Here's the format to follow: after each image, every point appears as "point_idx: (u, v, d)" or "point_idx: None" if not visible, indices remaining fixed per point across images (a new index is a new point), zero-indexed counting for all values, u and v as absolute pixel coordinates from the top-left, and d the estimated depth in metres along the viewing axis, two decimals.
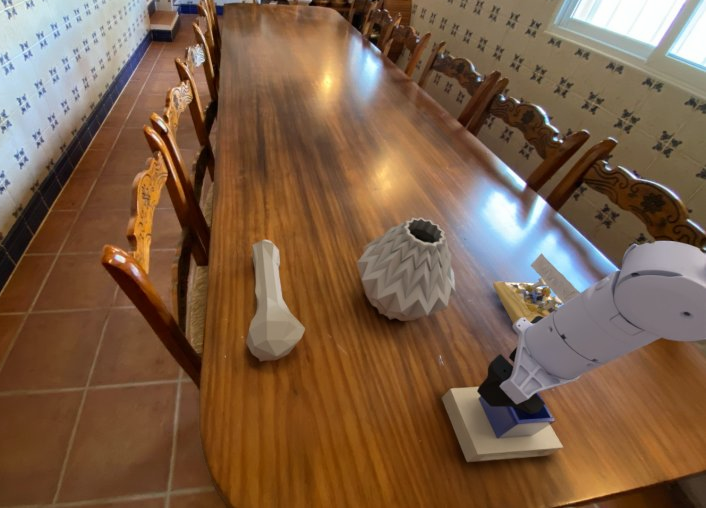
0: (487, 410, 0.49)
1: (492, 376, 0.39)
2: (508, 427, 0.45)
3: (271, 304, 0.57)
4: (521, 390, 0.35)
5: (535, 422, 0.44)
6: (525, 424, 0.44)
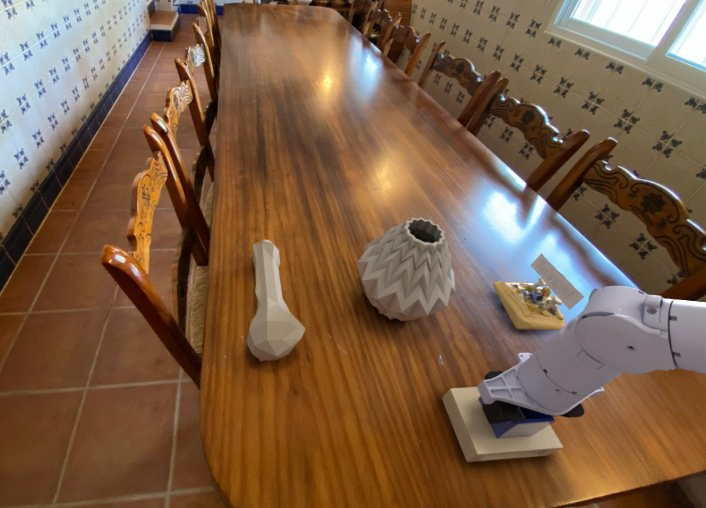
0: None
1: None
2: (508, 427, 0.45)
3: (271, 304, 0.57)
4: (489, 390, 0.42)
5: (535, 422, 0.44)
6: (525, 424, 0.44)
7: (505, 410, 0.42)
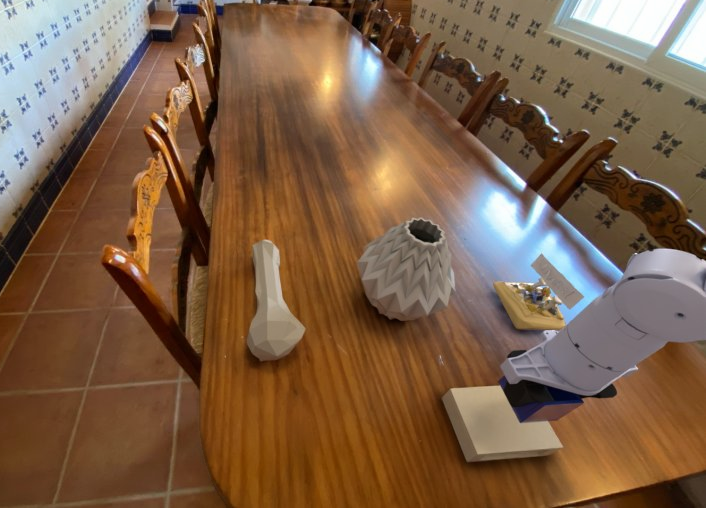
0: None
1: None
2: (533, 410, 0.42)
3: (271, 304, 0.57)
4: (514, 368, 0.38)
5: (563, 404, 0.40)
6: (552, 406, 0.41)
7: (531, 390, 0.39)
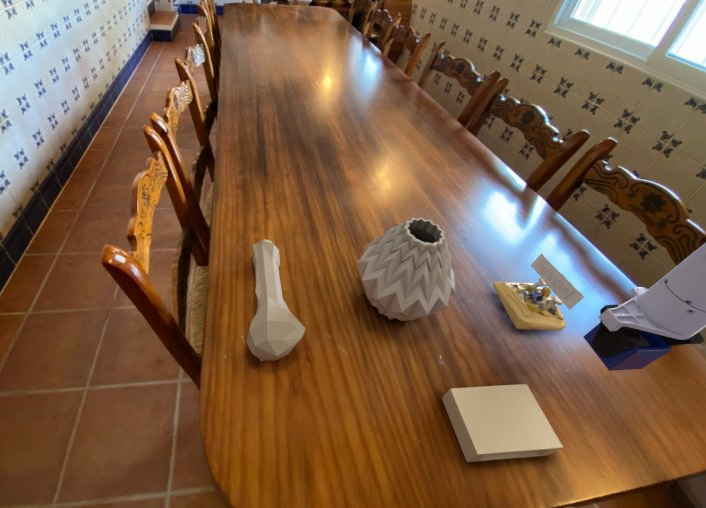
0: None
1: None
2: (625, 356, 0.47)
3: (271, 304, 0.57)
4: (615, 316, 0.44)
5: (653, 350, 0.46)
6: (643, 352, 0.46)
7: (629, 337, 0.44)
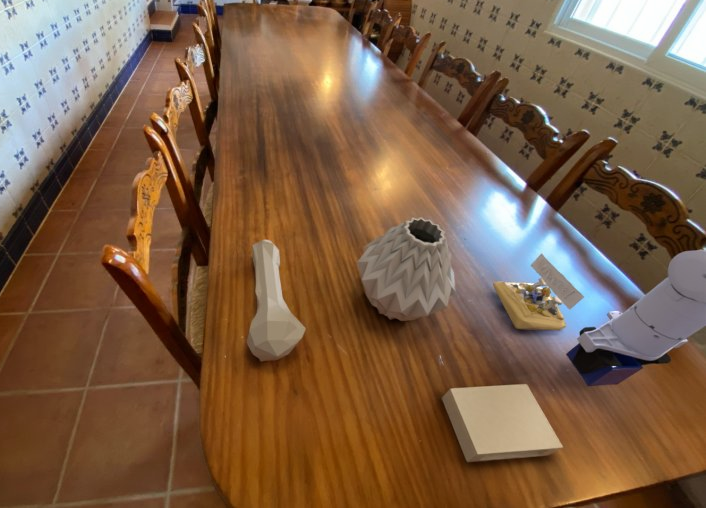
0: None
1: None
2: (601, 374, 0.52)
3: (271, 304, 0.57)
4: (591, 339, 0.49)
5: (626, 369, 0.51)
6: (617, 370, 0.51)
7: (604, 357, 0.50)
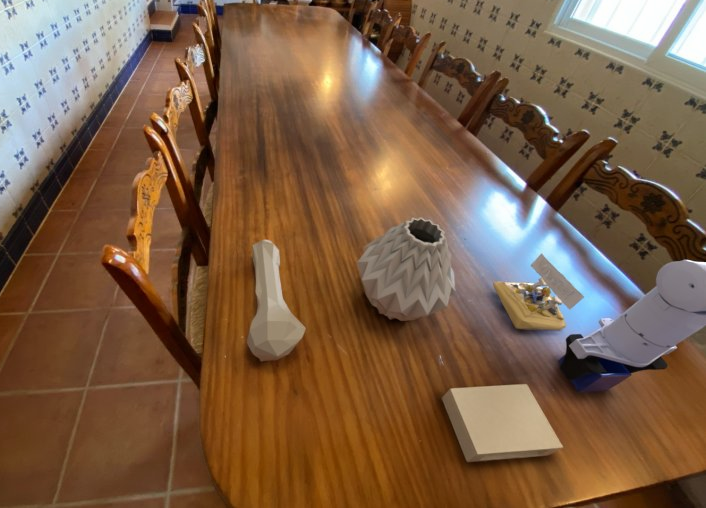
0: None
1: (568, 344, 0.54)
2: (591, 381, 0.54)
3: (271, 304, 0.57)
4: (582, 346, 0.50)
5: (615, 376, 0.52)
6: (607, 377, 0.53)
7: (589, 364, 0.51)
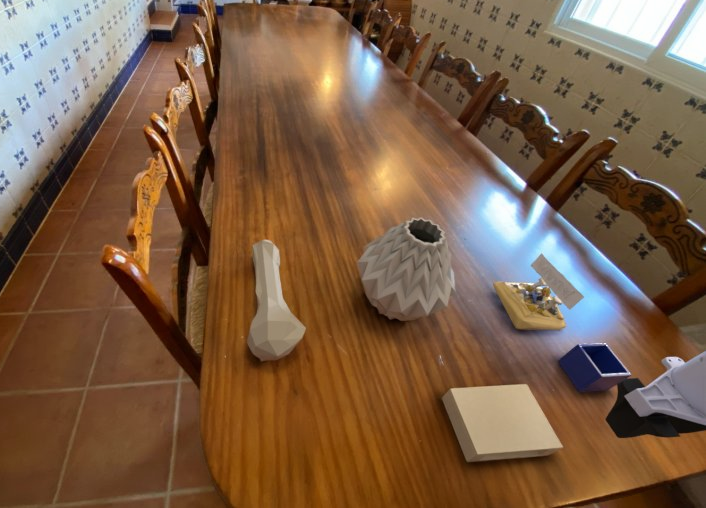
0: (568, 370, 0.57)
1: (621, 392, 0.40)
2: (591, 381, 0.54)
3: (272, 304, 0.57)
4: (646, 400, 0.36)
5: (615, 376, 0.52)
6: (607, 377, 0.53)
7: (654, 424, 0.36)
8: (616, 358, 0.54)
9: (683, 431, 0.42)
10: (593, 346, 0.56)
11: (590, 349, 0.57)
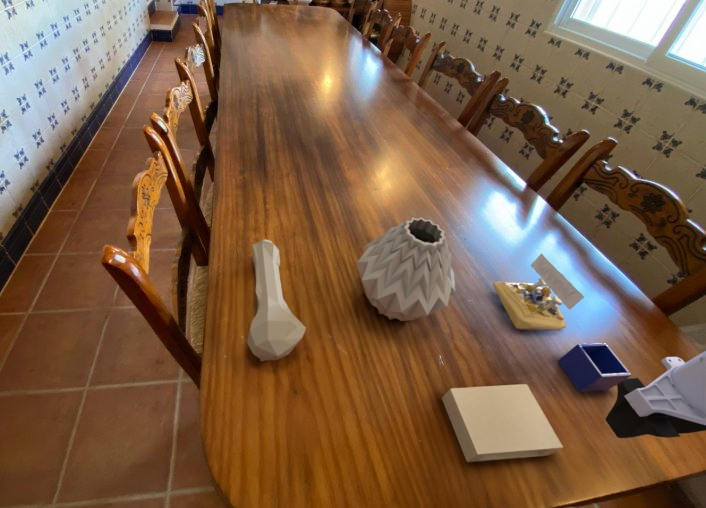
0: (568, 370, 0.57)
1: (621, 392, 0.40)
2: (591, 381, 0.54)
3: (272, 304, 0.57)
4: (646, 400, 0.36)
5: (615, 376, 0.52)
6: (607, 377, 0.53)
7: (654, 424, 0.36)
8: (616, 358, 0.54)
9: (683, 431, 0.42)
10: (593, 346, 0.56)
11: (590, 349, 0.57)
